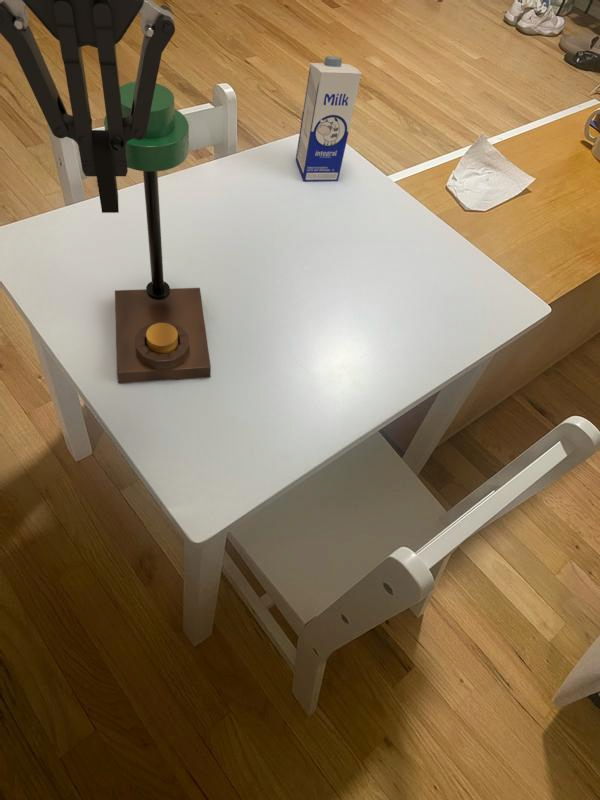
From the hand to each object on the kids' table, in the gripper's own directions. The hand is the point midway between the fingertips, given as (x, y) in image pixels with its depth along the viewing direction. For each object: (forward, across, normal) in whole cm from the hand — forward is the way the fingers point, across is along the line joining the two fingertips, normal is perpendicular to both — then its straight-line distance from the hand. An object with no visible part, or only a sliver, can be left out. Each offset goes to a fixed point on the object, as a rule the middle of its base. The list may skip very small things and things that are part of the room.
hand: (110, 203), depth 56 cm
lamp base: (+28, -4, -8) cm, 30 cm away
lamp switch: (+25, -4, -4) cm, 25 cm away
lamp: (+24, -4, -15) cm, 29 cm away
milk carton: (+29, -35, -48) cm, 66 cm away
